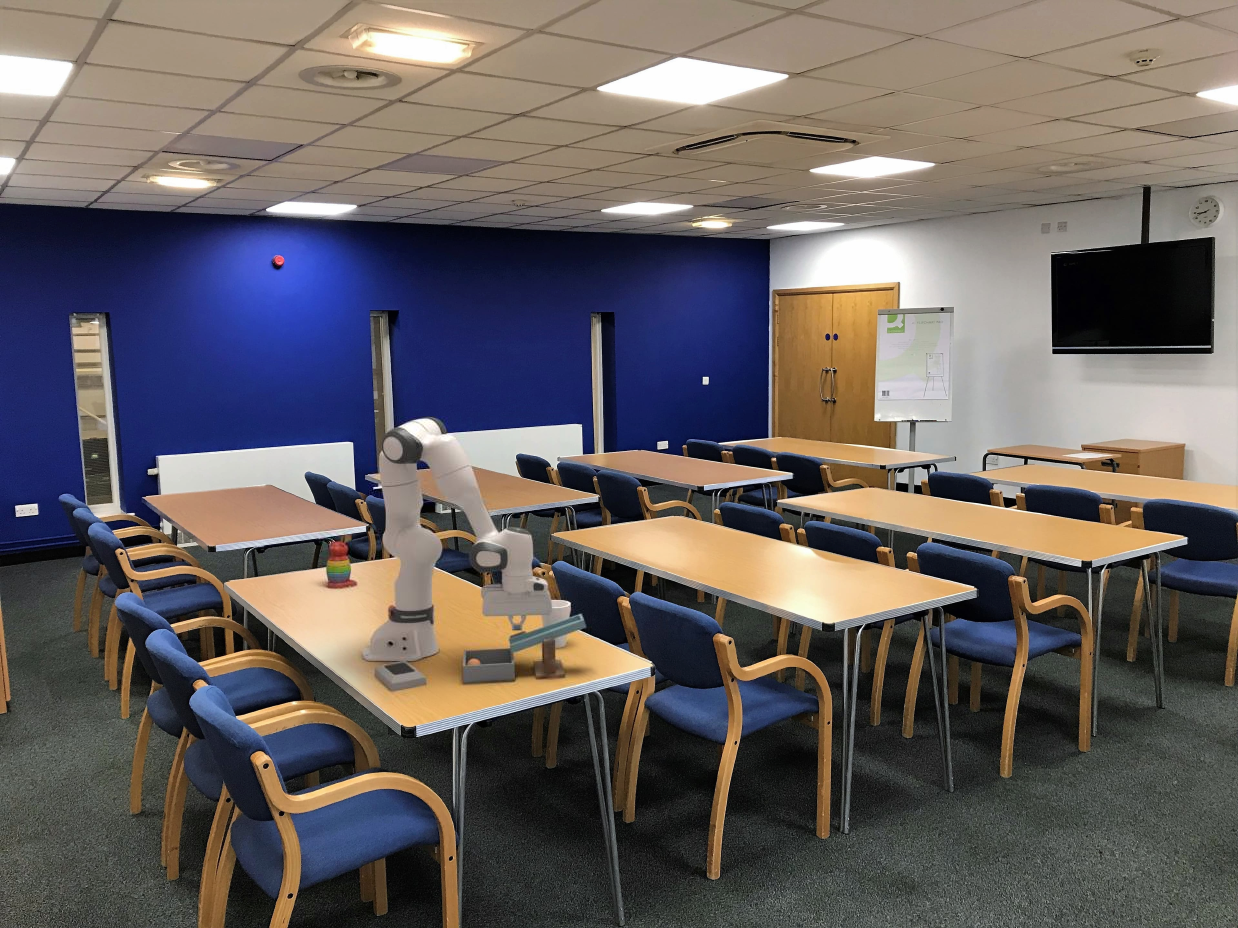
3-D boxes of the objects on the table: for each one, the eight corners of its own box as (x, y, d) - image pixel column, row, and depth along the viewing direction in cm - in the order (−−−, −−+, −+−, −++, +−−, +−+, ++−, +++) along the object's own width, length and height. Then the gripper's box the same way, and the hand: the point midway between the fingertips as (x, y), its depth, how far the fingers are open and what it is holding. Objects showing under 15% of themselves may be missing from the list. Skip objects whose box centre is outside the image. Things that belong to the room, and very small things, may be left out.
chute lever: (511, 653, 260) (509, 646, 259) (510, 639, 273) (508, 632, 272) (586, 627, 262) (584, 620, 262) (581, 614, 275) (579, 607, 275)
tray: (463, 683, 255) (462, 666, 255) (464, 667, 269) (463, 650, 268) (514, 680, 257) (514, 663, 257) (512, 664, 271) (512, 647, 270)
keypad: (391, 679, 249) (374, 664, 262) (392, 692, 250) (374, 676, 262) (425, 672, 254) (407, 658, 267) (426, 685, 255) (407, 670, 267)
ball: (481, 674, 261) (467, 675, 260) (481, 669, 265) (467, 671, 264) (480, 660, 260) (465, 662, 260) (480, 655, 264) (466, 657, 264)
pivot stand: (536, 679, 258) (535, 639, 257) (533, 663, 271) (532, 626, 270) (564, 677, 260) (564, 638, 258) (560, 662, 272) (560, 625, 271)
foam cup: (542, 650, 284) (541, 608, 283) (539, 641, 293) (538, 600, 292) (573, 648, 286) (572, 606, 285) (569, 639, 295) (568, 599, 294)
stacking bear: (359, 584, 368) (357, 540, 366) (339, 590, 360) (337, 545, 358) (340, 581, 374) (338, 538, 372) (320, 586, 365) (318, 542, 363)
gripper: (481, 586, 264) (481, 633, 265) (553, 585, 267) (552, 632, 269) (480, 581, 270) (480, 627, 272) (551, 580, 274) (550, 626, 275)
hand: (516, 629), depth 270 cm, fingers closed
